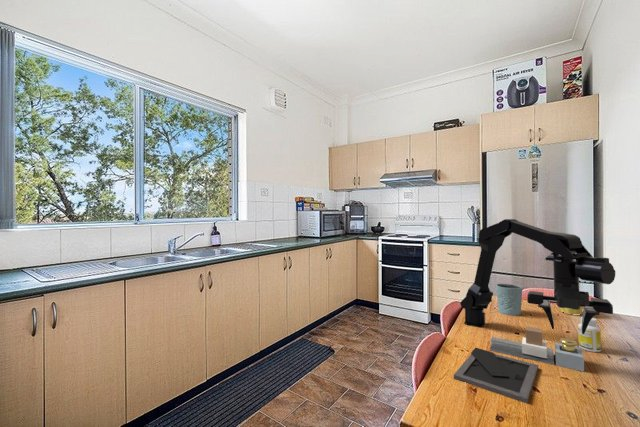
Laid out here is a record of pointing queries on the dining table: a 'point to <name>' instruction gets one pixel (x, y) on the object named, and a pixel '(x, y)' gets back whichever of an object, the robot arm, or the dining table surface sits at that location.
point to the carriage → (534, 343)
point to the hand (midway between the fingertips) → (567, 331)
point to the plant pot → (572, 310)
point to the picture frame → (498, 374)
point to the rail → (550, 361)
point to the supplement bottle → (590, 336)
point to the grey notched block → (569, 358)
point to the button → (568, 345)
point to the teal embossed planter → (509, 299)
